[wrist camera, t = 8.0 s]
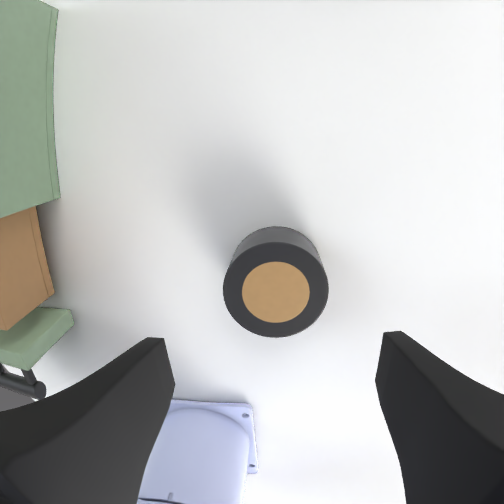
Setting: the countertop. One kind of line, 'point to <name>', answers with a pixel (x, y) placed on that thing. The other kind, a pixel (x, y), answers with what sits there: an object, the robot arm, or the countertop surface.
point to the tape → (275, 283)
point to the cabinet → (27, 105)
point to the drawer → (26, 303)
